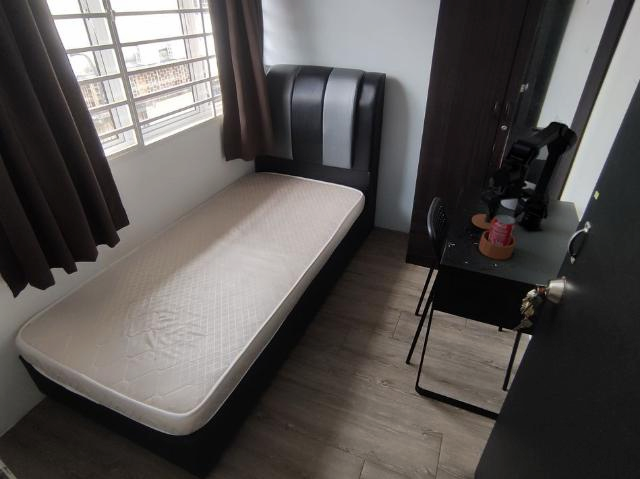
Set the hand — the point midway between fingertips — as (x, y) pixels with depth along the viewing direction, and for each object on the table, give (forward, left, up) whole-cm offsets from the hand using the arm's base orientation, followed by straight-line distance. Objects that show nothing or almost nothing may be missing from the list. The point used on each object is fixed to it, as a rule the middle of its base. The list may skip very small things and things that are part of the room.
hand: (503, 218), depth 136 cm
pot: (+1, +2, -13) cm, 13 cm away
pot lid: (-6, -16, -12) cm, 21 cm away
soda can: (0, +2, -13) cm, 13 cm away
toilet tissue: (-27, -29, -13) cm, 42 cm away
